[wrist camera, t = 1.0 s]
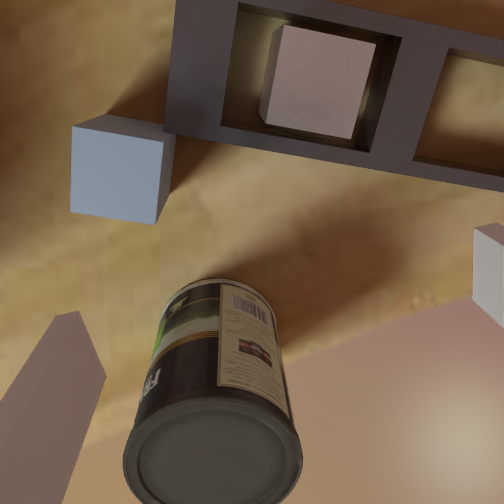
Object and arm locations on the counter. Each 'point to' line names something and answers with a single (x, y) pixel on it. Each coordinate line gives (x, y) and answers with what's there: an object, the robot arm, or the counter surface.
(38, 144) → the counter surface
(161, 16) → the counter surface
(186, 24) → the dark grey compartment tray
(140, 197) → the blue-grey rectangular block
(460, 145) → the counter surface
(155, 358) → the coffee can
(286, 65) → the pale wooden cube
